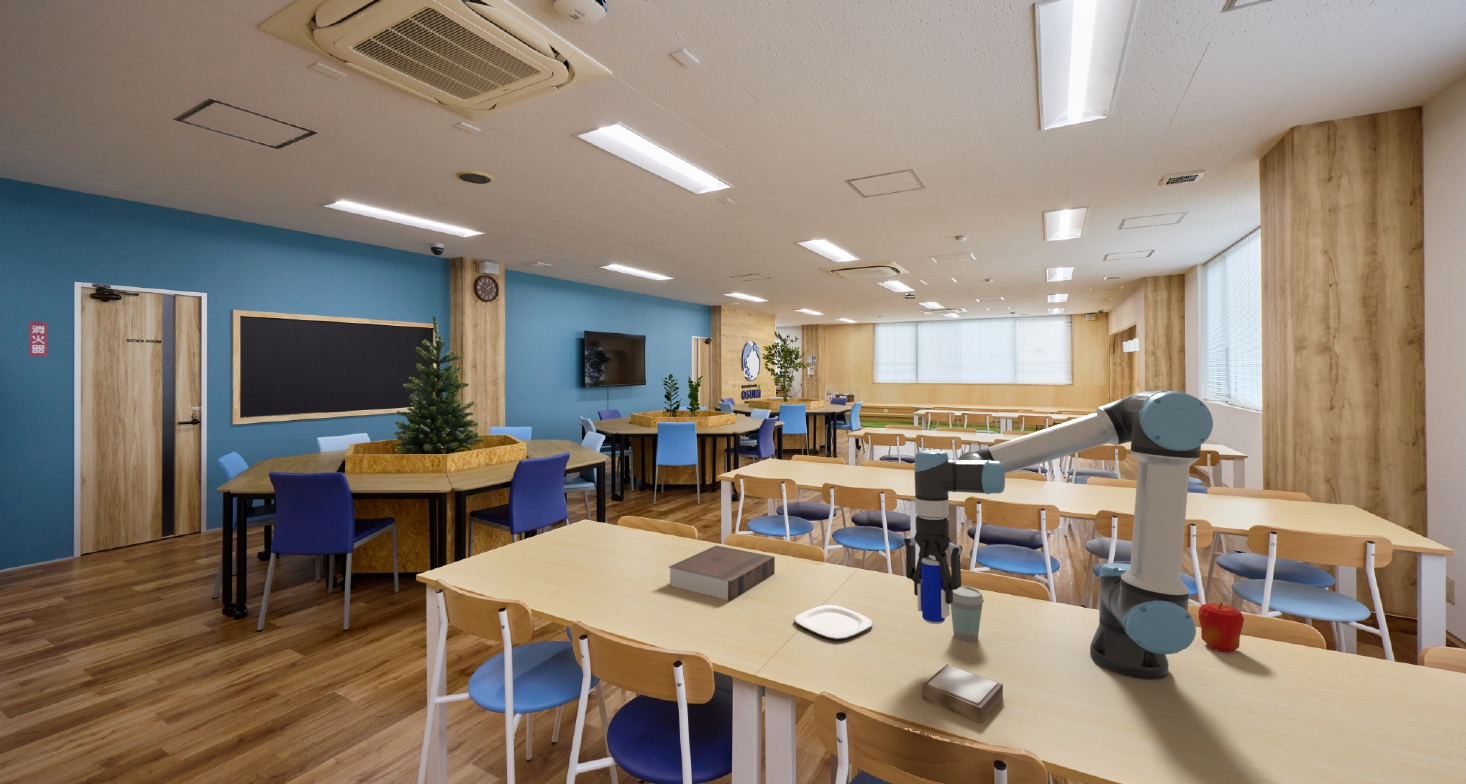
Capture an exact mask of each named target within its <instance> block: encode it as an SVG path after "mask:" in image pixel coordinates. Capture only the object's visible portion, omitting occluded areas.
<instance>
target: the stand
mask: <svg viewBox="0 0 1466 784" xmlns="http://www.w3.org/2000/svg"><path fill="white" fill-rule="evenodd" d="M1003 690H1004V684H1003V683H1000V682H998V681H995V680H992V679H989V678H987V677H984V676H981V675H978V674H975V673H973V672H971V671H968V670H965V669H961V668H959V667H957V666H954V665H950V664H945V665H943V667H942V668H940V670H938V671H937V672H935V673H934V674H933V675H932V676H931V677H930V678H929V679H928V680H927V681H925V682H924V683H923V684H922V697H921V698H922V700H924V701H926V702H928V703H931V704H933V705H936V706H939V707H941V708H943V709H945V710H948V711H950V712H953V713H956V714H957V715H960V716H962V717H965V718H967V719H969V720H972V721H974V722H977V723H979V724H982V723H983V722H984V721H985V720H986V718H987V717H988V716H989V715H990V714H991V712H992V711H993V710H994V709H995V708H996V706H998V704H1000V702H1001V701H1002V700H1003V697H1004V693H1003V692H1004V691H1003Z"/></svg>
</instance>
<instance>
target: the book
mask: <svg viewBox="0 0 1466 784" xmlns="http://www.w3.org/2000/svg"><path fill="white" fill-rule="evenodd" d="M775 560H776V559H775V556H773V555H768V554H763V553H758V552H752V551H746V550H743V549H742V550H741V549H736V548H732V547H726V546H720V545H714V546H711V547H710V548H707V549H705V550H702V551H700V552H699V553H696V554H694V555H692V556H690V557H688V558H686V559H682V560H681V561H678V562H676V563H674V564H672V565H670V566H668V568H669V586H671V587H674V588H675V587H676V588H679V589H683V590H687V591H689V592H690V591H691V592H695V593H700V594H703V595H707V596H710V597H711V596H712V597H716V598H720V599H723V600H726V601H728V602H732V601H734V600H735V599H737V598H738V597H740V596H742V595H743V594H745V593H746V592H748V591H750V590H751V589H753V588H754V587H756V586H758V585H760V583H762V582H764V581H766V580H767V579H769V578H771V577H772V576H774V575H775V566H776V564H775V563H776V562H775Z"/></svg>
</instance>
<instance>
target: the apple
mask: <svg viewBox="0 0 1466 784" xmlns="http://www.w3.org/2000/svg"><path fill="white" fill-rule="evenodd" d="M1244 620H1245V618H1244V616H1243V613H1242V612H1241V611H1240V610H1239V609H1238V608H1235V607H1233V606H1231V605H1226V604H1223V601H1221V602H1220V603H1214V602H1210V603H1203V604H1201V605H1200V607H1199V608H1198V621H1199V624H1200V630H1201V631H1200V632H1201V640H1202V641H1203V642H1205V643H1206V644H1207V646H1208V647H1209V648H1211V649H1212V650H1216V651H1218V652H1222V653H1233V652H1234V651H1236V650H1238V649H1239V648H1240V641H1241V633H1242V629H1243V626H1244V622H1245V621H1244Z"/></svg>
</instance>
